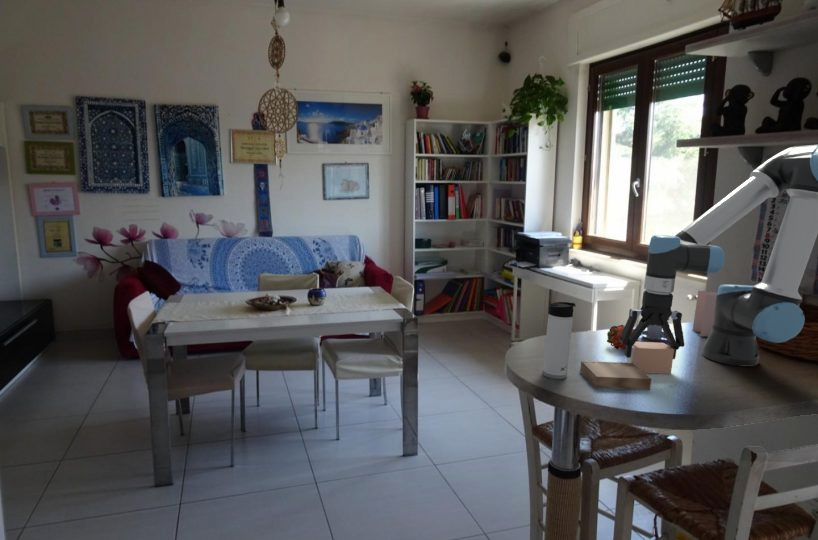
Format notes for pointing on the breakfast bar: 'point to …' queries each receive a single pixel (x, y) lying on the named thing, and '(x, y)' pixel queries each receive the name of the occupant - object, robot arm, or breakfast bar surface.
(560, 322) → the travel mug
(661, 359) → the block
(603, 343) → the breakfast bar surface
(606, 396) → the breakfast bar surface
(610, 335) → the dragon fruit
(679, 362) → the breakfast bar surface
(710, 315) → the greeting card
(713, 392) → the breakfast bar surface
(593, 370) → the brown wooden board
